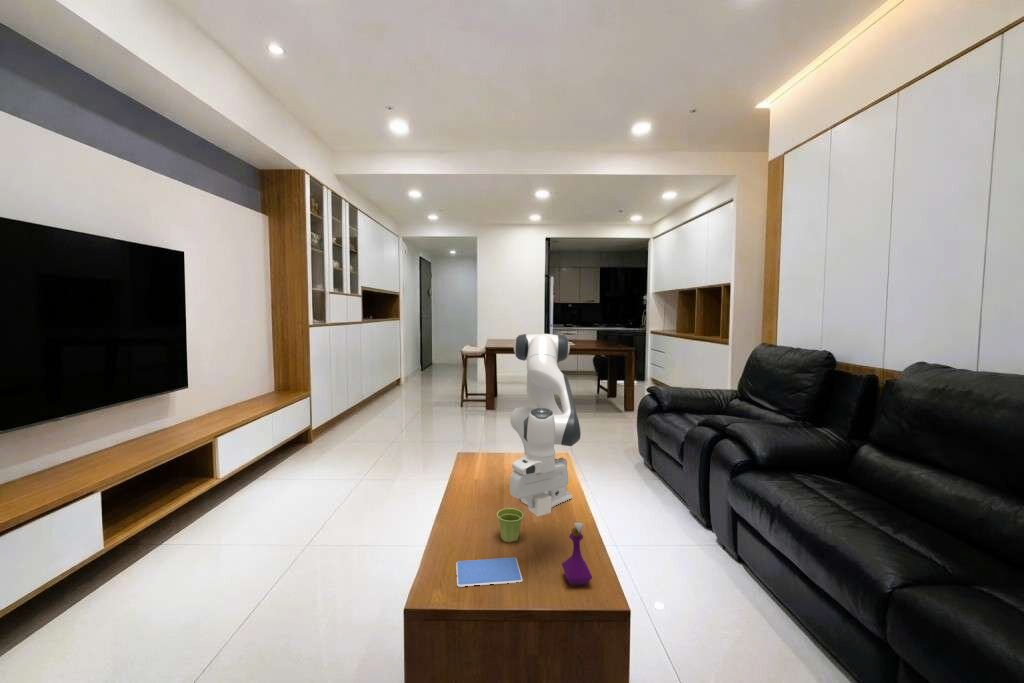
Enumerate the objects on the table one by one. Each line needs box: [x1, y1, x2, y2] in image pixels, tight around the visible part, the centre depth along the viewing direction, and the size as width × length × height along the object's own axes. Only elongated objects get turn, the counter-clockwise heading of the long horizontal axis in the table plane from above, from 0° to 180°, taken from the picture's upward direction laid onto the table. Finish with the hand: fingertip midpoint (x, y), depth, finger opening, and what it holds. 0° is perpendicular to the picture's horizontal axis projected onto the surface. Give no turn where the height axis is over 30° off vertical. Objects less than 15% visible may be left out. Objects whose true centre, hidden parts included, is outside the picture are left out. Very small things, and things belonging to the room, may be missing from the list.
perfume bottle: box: [561, 522, 593, 586], centre depth 126 cm, size 8×8×18 cm
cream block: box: [527, 492, 552, 517], centre depth 133 cm, size 5×5×5 cm
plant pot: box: [496, 507, 524, 543], centre depth 150 cm, size 9×9×9 cm
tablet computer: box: [455, 557, 524, 588], centre depth 130 cm, size 19×13×1 cm, turn 99°
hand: (539, 505), depth 133 cm, fingers closed on cream block, 5 cm apart
